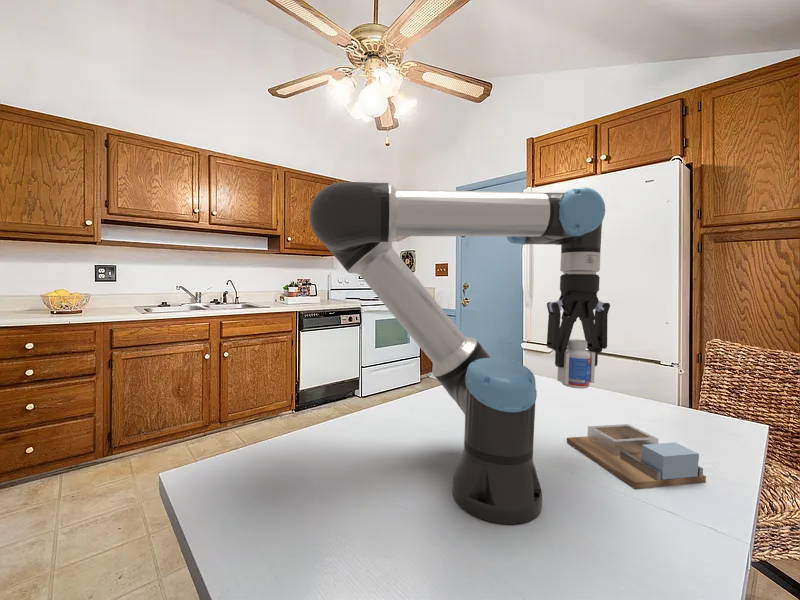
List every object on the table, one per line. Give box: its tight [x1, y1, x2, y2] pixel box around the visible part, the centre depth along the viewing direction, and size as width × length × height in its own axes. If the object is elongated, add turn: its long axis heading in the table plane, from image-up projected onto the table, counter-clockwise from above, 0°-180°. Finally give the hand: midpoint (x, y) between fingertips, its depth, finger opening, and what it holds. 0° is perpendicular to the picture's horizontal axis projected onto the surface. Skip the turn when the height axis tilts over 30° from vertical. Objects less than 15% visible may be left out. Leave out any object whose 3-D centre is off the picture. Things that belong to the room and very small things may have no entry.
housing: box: [641, 442, 700, 480], centre depth 73 cm, size 8×5×4 cm, turn 101°
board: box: [566, 436, 707, 490], centre depth 80 cm, size 16×20×1 cm
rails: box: [620, 450, 704, 481], centre depth 75 cm, size 10×9×2 cm
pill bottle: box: [561, 338, 590, 390], centre depth 79 cm, size 6×5×10 cm
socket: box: [586, 423, 659, 455], centre depth 85 cm, size 11×8×3 cm
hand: (575, 381), depth 79 cm, fingers closed on pill bottle, 5 cm apart
